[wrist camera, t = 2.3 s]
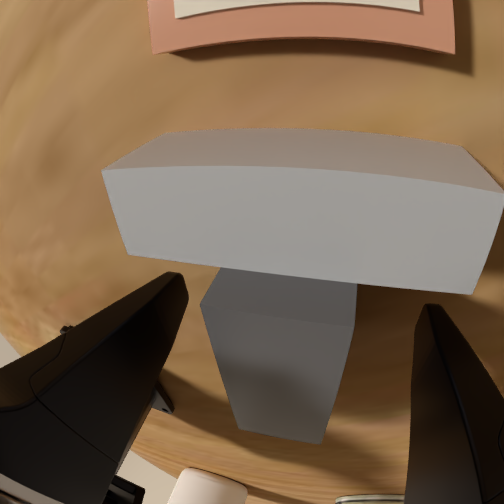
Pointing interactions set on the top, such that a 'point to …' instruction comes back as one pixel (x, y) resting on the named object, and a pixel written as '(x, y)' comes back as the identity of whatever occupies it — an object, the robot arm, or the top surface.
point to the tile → (301, 22)
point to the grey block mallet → (301, 245)
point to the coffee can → (371, 499)
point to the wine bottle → (206, 489)
